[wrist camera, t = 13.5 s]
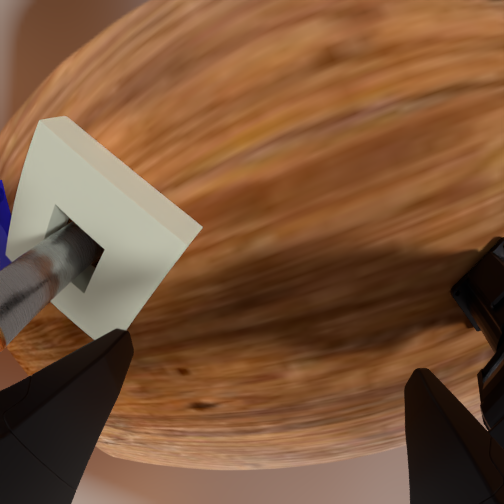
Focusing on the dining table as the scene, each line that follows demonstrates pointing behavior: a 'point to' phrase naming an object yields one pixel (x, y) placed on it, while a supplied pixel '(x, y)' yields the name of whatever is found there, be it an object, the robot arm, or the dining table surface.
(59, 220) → the block
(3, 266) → the blue cradle bracket
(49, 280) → the steel pin
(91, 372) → the robot arm
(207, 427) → the dining table surface
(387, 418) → the dining table surface
